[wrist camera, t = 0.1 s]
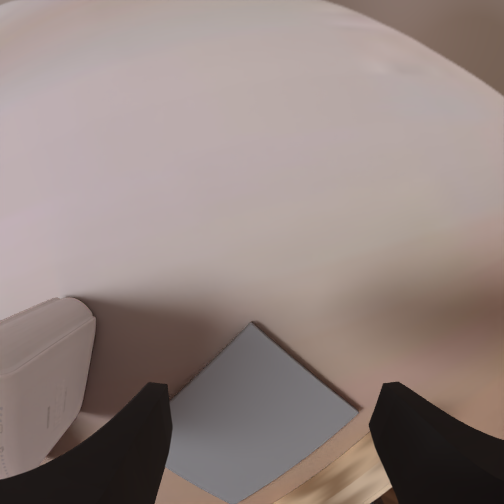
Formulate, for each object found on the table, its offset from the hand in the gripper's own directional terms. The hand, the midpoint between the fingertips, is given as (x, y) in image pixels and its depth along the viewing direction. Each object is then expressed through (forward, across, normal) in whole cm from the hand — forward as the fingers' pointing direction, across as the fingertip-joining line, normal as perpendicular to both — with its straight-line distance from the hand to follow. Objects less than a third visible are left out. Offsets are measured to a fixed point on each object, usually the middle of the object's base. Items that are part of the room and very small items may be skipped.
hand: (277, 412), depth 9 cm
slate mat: (+9, +1, +10) cm, 14 cm away
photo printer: (+10, +14, +6) cm, 18 cm away
